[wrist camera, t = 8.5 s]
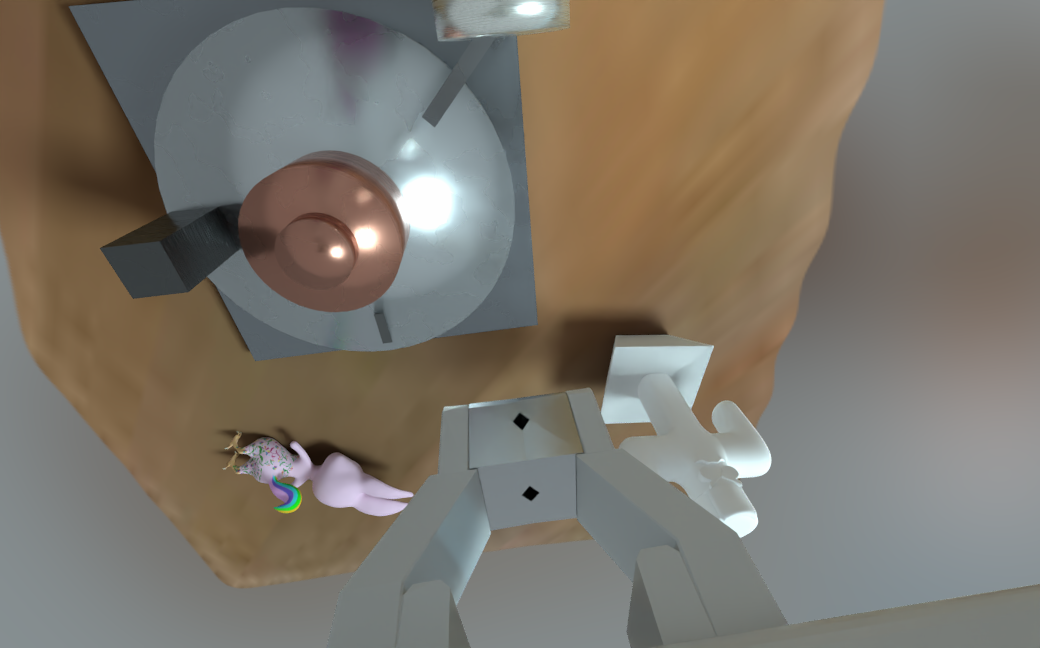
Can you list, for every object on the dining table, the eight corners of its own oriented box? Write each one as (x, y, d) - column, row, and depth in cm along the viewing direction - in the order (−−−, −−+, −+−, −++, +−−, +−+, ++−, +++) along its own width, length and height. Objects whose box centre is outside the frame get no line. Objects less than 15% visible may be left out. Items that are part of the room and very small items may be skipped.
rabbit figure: (244, 454, 37) (406, 505, 40) (195, 513, 32) (386, 568, 34) (251, 404, 35) (426, 462, 37) (199, 459, 29) (406, 522, 32)
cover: (249, 159, 21) (191, 186, 16) (391, 141, 21) (371, 163, 17) (302, 285, 25) (267, 334, 20) (422, 269, 25) (413, 313, 20)
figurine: (680, 390, 37) (792, 562, 24) (574, 392, 36) (633, 575, 23) (704, 318, 33) (851, 479, 20) (586, 319, 32) (665, 489, 19)
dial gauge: (415, -6, 20) (373, -60, 11) (531, -17, 20) (583, -79, 11) (435, 110, 23) (414, 143, 14) (537, 99, 23) (584, 125, 14)
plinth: (85, 8, 20) (68, 6, 19) (509, -30, 21) (511, -34, 20) (261, 352, 30) (255, 360, 30) (535, 317, 31) (537, 324, 31)
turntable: (100, 30, 19) (-63, 17, 13) (493, -6, 20) (504, -34, 14) (262, 350, 29) (209, 424, 23) (523, 316, 30) (537, 380, 24)
